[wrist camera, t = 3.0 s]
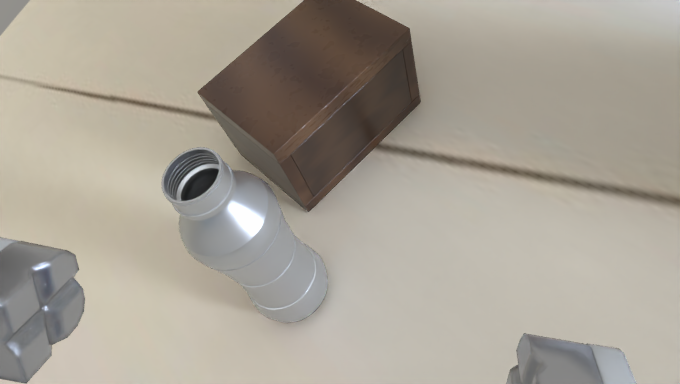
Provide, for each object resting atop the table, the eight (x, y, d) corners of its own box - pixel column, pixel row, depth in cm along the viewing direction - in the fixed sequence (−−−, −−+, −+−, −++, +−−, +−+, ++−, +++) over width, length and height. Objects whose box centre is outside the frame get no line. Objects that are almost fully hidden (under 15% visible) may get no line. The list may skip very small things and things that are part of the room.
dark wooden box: (346, 57, 59) (323, -17, 50) (420, 102, 53) (409, 28, 45) (240, 153, 55) (196, 91, 47) (308, 212, 50) (273, 154, 41)
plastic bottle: (348, 279, 46) (271, 152, 29) (300, 345, 44) (187, 250, 27) (294, 243, 49) (194, 109, 32) (246, 303, 47) (114, 194, 30)
